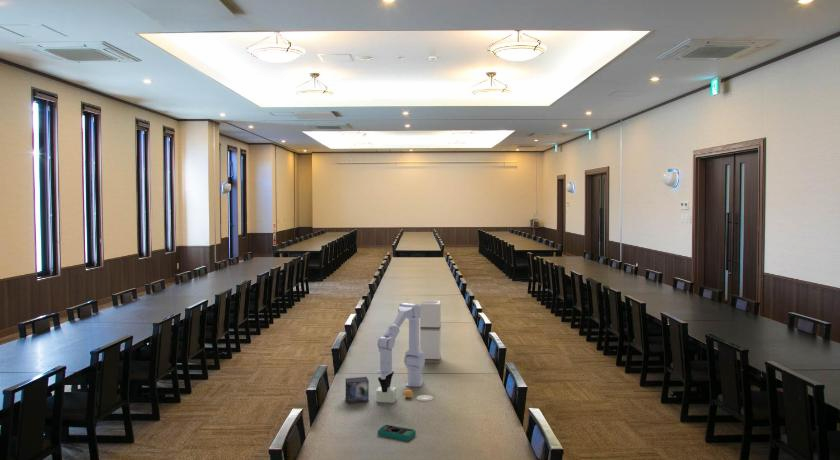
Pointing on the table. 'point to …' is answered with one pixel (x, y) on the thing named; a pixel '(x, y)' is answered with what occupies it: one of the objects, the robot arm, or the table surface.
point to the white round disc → (424, 398)
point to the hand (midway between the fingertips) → (386, 389)
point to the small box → (357, 389)
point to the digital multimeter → (396, 432)
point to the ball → (408, 393)
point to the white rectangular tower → (430, 330)
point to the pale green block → (386, 395)
